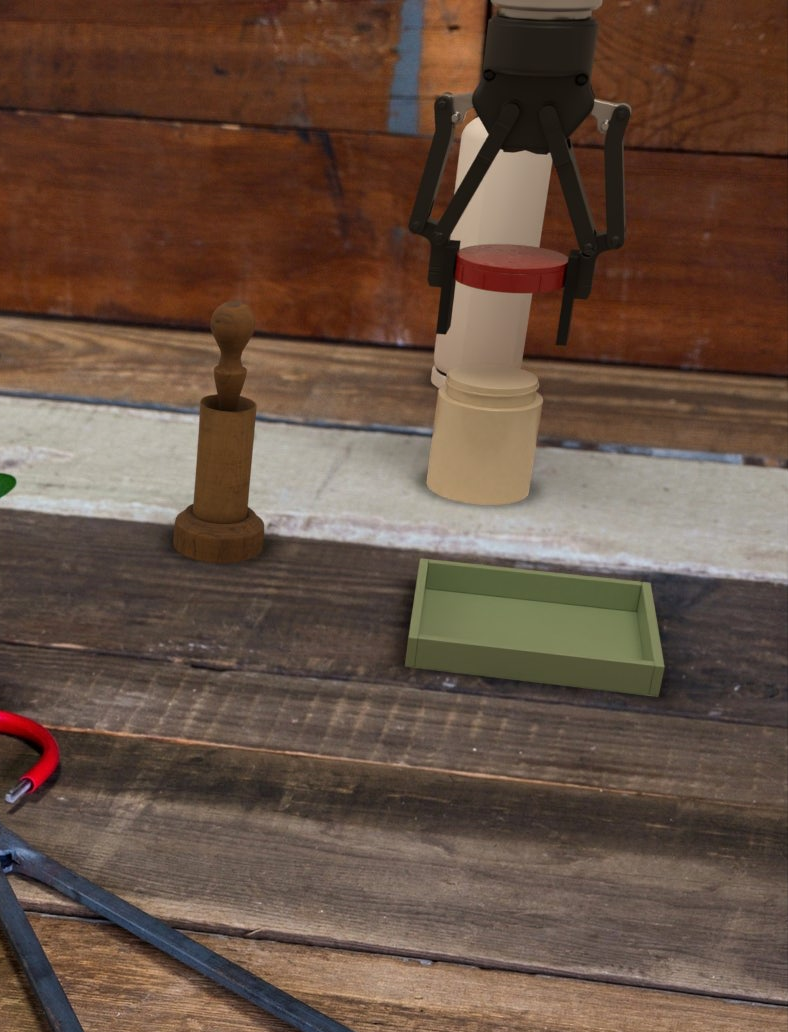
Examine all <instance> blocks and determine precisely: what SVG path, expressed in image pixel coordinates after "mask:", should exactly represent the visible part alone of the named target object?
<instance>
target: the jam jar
mask: <svg viewBox="0 0 788 1032" xmlns="http://www.w3.org/2000/svg"><path fill="white" fill-rule="evenodd" d="M445 376H446V377H447V378H446V384H445V385H443V386H441V387H440V388H438V390H437V394H436V395H437V396H436V401H435V402H436V403H435V410H434V411H435V412H434V419H433V427H432V433H431V441H430V442H431V443H430V450H429V459H428V466H427V474H426V481H425V482H426V486H427V488H428V489H429V490H430V491H431V492H433V493H435V495H438V496H439V497H443V498H445V499H448V500H451V501H455V502H460V503H464V504H472V505H480V506H482V505H483V506H500V505H501V506H502V505H510V504H515V503H518V502H520V501H522V500H524V499H526V498H527V497H528V496H529V493H530V488H531V481H532V476H533V469H534V463H535V456H536V449H537V444H538V436H539V430H540V426H541V425H540V424H541V417H542V412H543V406H544V405H543V404H544V398H543V396H542V394H540V393H539V392H537V391H538V390H539V389H540V381H539V378H538V376H537V375H536V374H534V373H533V372H530V371H528V370H526V369H523V368H516V367H511V366H506V365H498V364H465V365H460V366H456V367H454V368H452V369H450V370H449V371H448V372H447V374H445Z"/></svg>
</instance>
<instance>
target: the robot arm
mask: <svg viewBox="0 0 788 1032" xmlns="http://www.w3.org/2000/svg"><path fill="white" fill-rule="evenodd" d="M603 2H604V1H603V0H490V3H491V4H492V5H493V6H494V7H496V8H498V10H496V13H494V14H492V15H491V18H488V22H487V31H486V39H485V47H484V55H483V65H482V73H481V77H480V81H479V82H478V85H477V86H476V88H475V89H474V91H473V92H472V91H471V92H464V93H457V94H455V93H454V94H453V93H452V92H449V91H446V92H442V94H441V95H439V96H438V97H437V98H436V99H435V101H434V102H433V103H434V104H433V111H434V114H433V115H434V133H433V137H432V140H431V143H430V148H429V151H428V155H427V158H426V161H425V165H424V169H423V172H422V176H421V179H420V183H419V186H418V190H417V193H416V197H415V200H414V204H413V206H412V211H411V214H410V217H409V221H408V225H407V228H408V231H409V232H410V234H412V235H418V236H420V237H423V238H424V239H426V240H427V241H428V242H429V244H430V253H429V262H428V270H427V283H428V286H429V287H432V288H440V295H439V304H438V312H437V321H436V330H435V334H436V335H437V334H444V335H446V334H447V332H448V330H449V328H450V326H451V319H452V310H453V302H454V293H455V285H456V280H455V279H454V270H455V262H456V254H457V252H458V250H460V242H461V241H459V240H450V237H451V234H452V232H453V230H454V228H455V227H456V225H457V223H458V221H459V220H460V218H461V216H462V214H463V213H464V211H465V209H466V208H467V206H468V204H469V202H470V201H471V199H472V197H473V195H474V194H475V192H476V190H477V189H478V187H479V185H480V183H481V182H482V180H483V178H484V176H485V175H486V173H487V171H488V170H489V168H490V166H491V164H492V163H493V161H494V159H495V158H496V156H497V154H498V152H499V151H500V149H501V150H503V152H510V153H515V152H520V151H529V152H532V153H534V154H542V155H547V154H548V153H550V154H551V157H552V165H553V166H554V168H555V171H556V174H557V178H558V181H559V185H560V188H561V191H562V194H563V197H564V202H565V205H566V209H567V211H568V214H569V218H570V222H571V224H572V225H571V226H572V228H573V231H574V232H573V233H574V235H575V238H576V241H577V245H578V249H570V252H569V254H568V256H567V257H568V264H567V271H566V278H565V285H564V287H563V291H562V292H563V293H562V300H561V306H560V313H559V319H558V325H557V332H556V333H557V334H556V340H555V346H561V347H562V346H563V347H566V346H567V343H568V341H569V337H570V330H571V325H572V318H573V310H574V304H575V300H584V301H585V300H586V301H587V300H588V298H589V297H590V295H591V293H592V289H593V283H594V277H595V271H596V265H597V259H598V257H599V255H601V254H603V253H605V252H607V251H611V250H612V251H614V250H615V251H616V250H619V249H621V248H622V247H623V246H624V244H625V241H626V236H627V219H626V218H627V217H626V215H627V214H626V181H625V180H626V178H625V175H626V174H625V144H624V143H625V142H624V141H625V140H624V139H625V138H624V136H625V133H626V130H627V128H628V125H629V121H630V119H631V115H632V110H633V109H632V104H630V103H629V102H627V101H620V102H618V103H617V102H612V101H608V100H603V99H599V98H596V95H595V93H594V90H593V86H592V74H593V69H594V62H595V61H594V60H595V54H596V47H597V41H598V40H597V39H598V33H599V27H600V23H599V22H598V21H597V20H598V19H597V18H596V17H594V16H592V12H593V11H595V10H598V9H600V7H602V5H603ZM471 109H474V111H475V113H476V115H477V117H479V118H480V120H481V122H482V124H483V126H484V127H485V129H486V131H487V133H488V134H489V135H488V136H487V138H486V140H485V142H484V143H483V145H482V147H481V149H480V150H479V152H478V154H477V156H476V158H475V160H474V161H473V163H472V165H471V167H470V168H469V170H468V172H467V174H466V175H465V177H464V179H463V181H462V182H461V184H460V186H459V188H458V189H457V191H456V193H455V195H454V194H453V196H452V198H451V199H450V202H449V203H448V205H447V207H446V208H445V210H444V212H443V214H442V215H441V217H440V219H439V220H437V219H436V218H433V217H432V213H433V209H434V205H435V202H436V200H437V199H436V198H437V195H438V192H439V189H440V186H441V185H440V184H441V181H442V178H443V175H444V171H445V168H446V164H447V162H448V158H449V154H450V151H451V147H452V144H453V141H454V138H455V133H456V130H457V129H456V128H457V127H456V126H459V125H460V126H461V124H462V123H463V122H464V121H465V119H466V117H467V112H468V111H469V110H471ZM590 115H591V116H593V117H594V118H595V120H596V129H597V131H598V132H599V133H600V134H601V135H604V136H605V138H604V144H603V145H604V146H603V156H604V190H605V191H604V193H605V223H606V225H605V227H606V230H601V231H599V232H598V231H597V228H596V224H595V221H594V217H593V213H592V211H591V207H590V204H589V200H588V197H587V193H586V190H585V187H584V183H583V179H582V176H581V173H580V169H579V165H578V163H577V159H576V154H575V149H574V146H573V142H572V139H571V136H572V135H573V134H574V133H575V132H576V130H578V128H579V127H580V126H581V125H582V124H583V123H584V122H585V121H586V119H587V118H588V117H589V116H590Z"/></svg>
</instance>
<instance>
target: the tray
mask: <svg viewBox="0 0 788 1032" xmlns="http://www.w3.org/2000/svg"><path fill="white" fill-rule="evenodd" d="M417 568H418V570H417V578H416V582H415V588H414V598H413V604H412V609H411V615H410V617H411V618H410V624H409V631H408V637H407V645H406V652H405V653H406V654H405V659H404V660H405V661H404V667H406V668H412V669H413V668H414V669H420V670H421V669H423V670H429V671H438V672H448V673H454V674H464V675H473V676H481V677H489V678H497V679H506V680H513V681H523V682H531V683H539V684H548V685H556V686H563V687H564V686H565V687H572V688H582V689H588V690H589V689H590V690H599V691H607V692H615V693H622V694H623V693H624V694H633V695H640V696H649V697H657V698H658V697H659V695H660V692H661V687H662V682H663V677H664V674H665V668H666V665H665V661H664V655H663V649H662V643H661V636H660V631H659V625H658V624H659V623H658V617H657V612H656V607H655V600H654V594H653V589H652V583H651V582H648V581H647V582H646V581H636V580H628V579H618V578H609V577H599V576H592V575H591V576H590V575H580V574H572V573H561V572H554V571H553V572H552V571H544V570H536V569H535V570H534V569H525V568H516V567H505V566H497V565H486V564H479V563H478V564H477V563H467V562H460V561H450V560H449V561H448V560H441V559H431V558H429V559H428V558H421V557H420V559H419V561H418V567H417Z"/></svg>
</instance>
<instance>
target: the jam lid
mask: <svg viewBox="0 0 788 1032" xmlns="http://www.w3.org/2000/svg"><path fill="white" fill-rule="evenodd" d="M568 257H569V256H567V255H566V254H564V253H561V252H559V251H556V250H553V249H548V248H543V247H540V246H539V247H533V246H525V245H512V244H485V245H475V246H469V247H465V248H462V249H460V250H458V252H457V254H456V262H455V270H454V279H455V280H456V281H457V282H459V283H461V284H463V285H466V286H469V287H473V288H477V289H481V290H487V291H494V292H503V293H532V294H543V293H550V292H554V291H559V290H561V289H564V285H565V278H566V271H567V264H568Z"/></svg>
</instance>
